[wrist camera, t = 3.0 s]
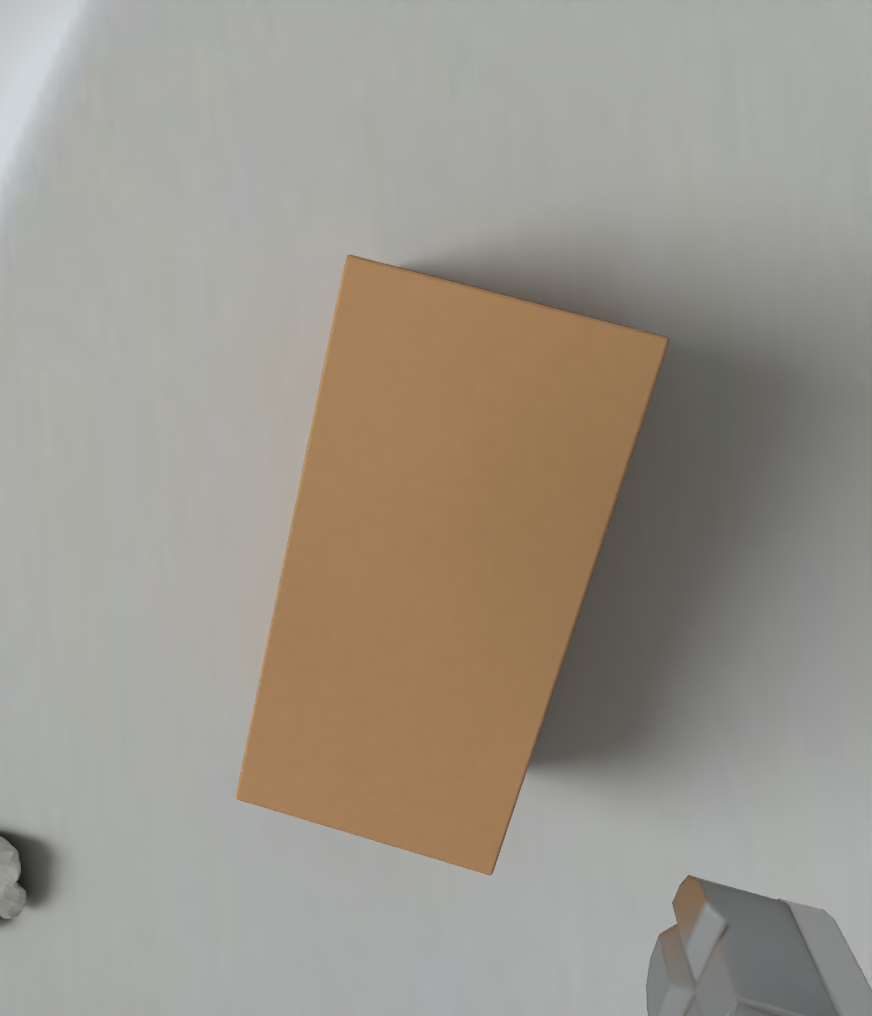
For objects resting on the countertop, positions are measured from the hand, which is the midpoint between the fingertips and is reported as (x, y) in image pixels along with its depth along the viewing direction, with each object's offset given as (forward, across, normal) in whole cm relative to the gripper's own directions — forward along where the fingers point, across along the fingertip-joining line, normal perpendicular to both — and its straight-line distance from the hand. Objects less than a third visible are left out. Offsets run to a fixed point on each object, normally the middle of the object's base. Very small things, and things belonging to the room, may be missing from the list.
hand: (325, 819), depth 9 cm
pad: (+11, 0, 0) cm, 11 cm away
